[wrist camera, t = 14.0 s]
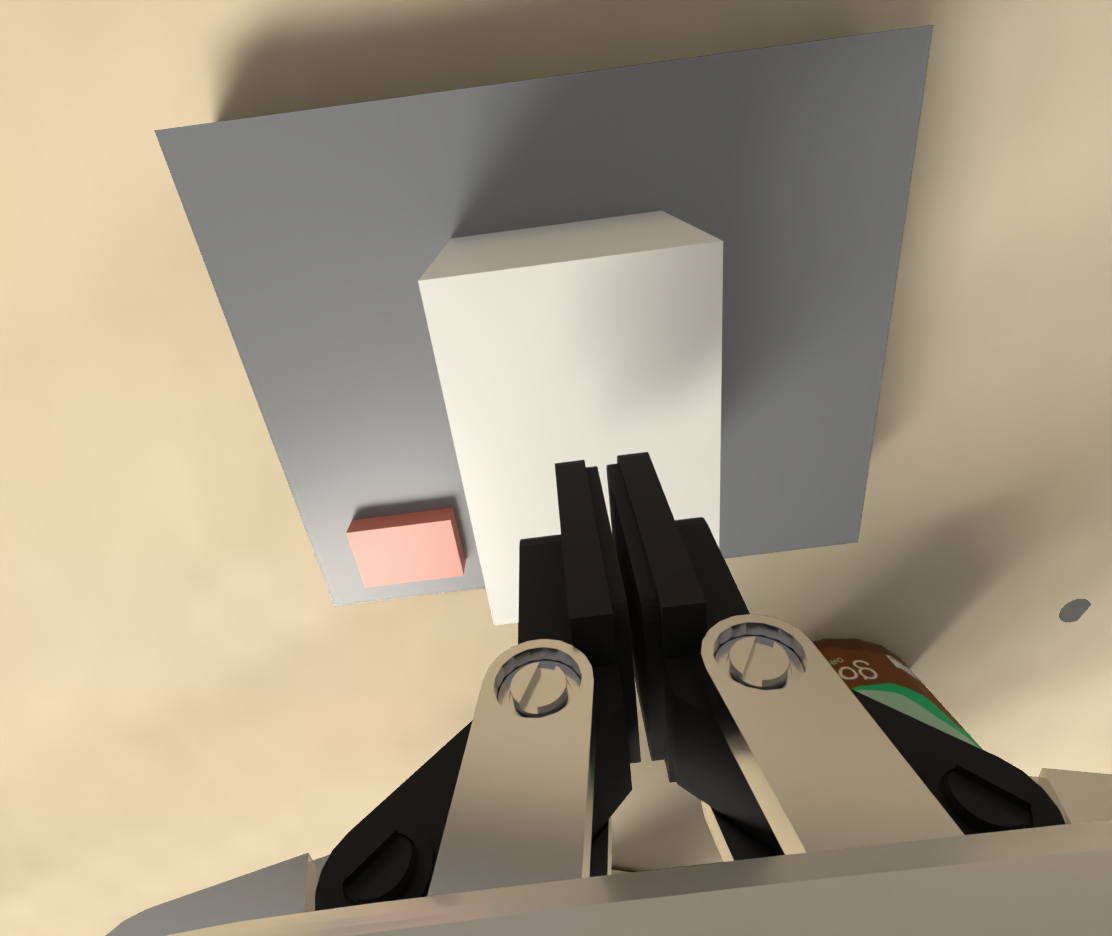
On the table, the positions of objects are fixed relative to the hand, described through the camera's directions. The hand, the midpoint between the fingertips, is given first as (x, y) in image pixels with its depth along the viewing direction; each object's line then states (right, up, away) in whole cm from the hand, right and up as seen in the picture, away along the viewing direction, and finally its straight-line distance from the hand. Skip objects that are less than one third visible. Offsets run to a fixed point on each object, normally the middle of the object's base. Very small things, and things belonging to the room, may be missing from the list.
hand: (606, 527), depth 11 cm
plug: (-1, +5, +11) cm, 12 cm away
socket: (-1, +6, +11) cm, 12 cm away
